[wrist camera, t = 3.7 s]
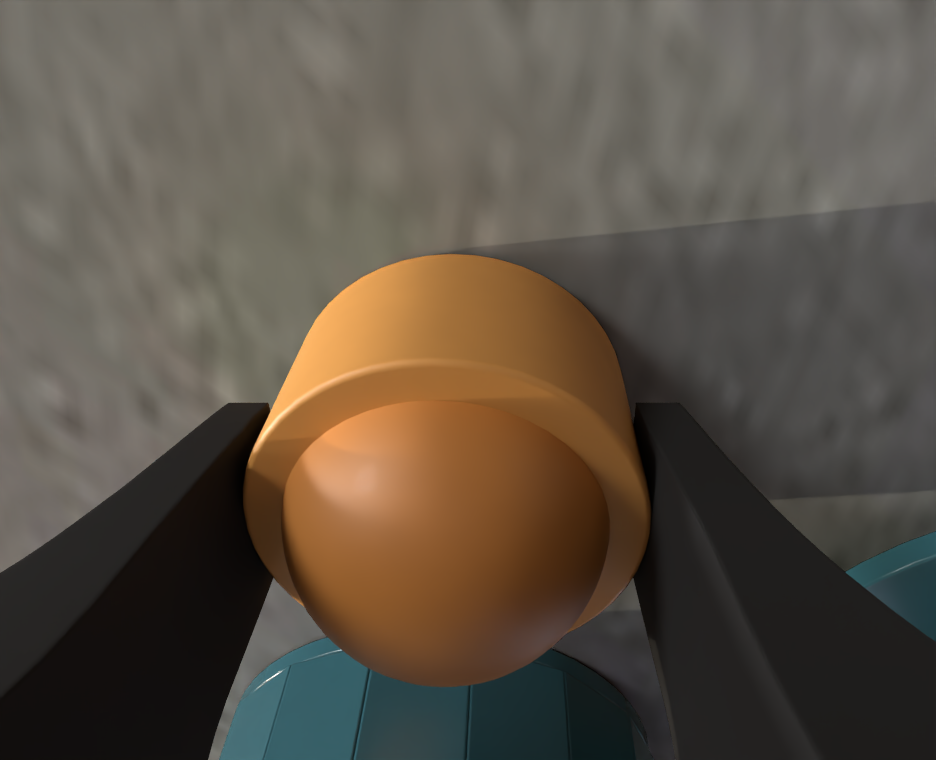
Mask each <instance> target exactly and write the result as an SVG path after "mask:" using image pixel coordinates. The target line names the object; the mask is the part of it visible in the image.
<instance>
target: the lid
mask: <svg viewBox="0 0 936 760" xmlns="http://www.w3.org/2000/svg"><path fill="white" fill-rule="evenodd" d="M846 573H847V574H848V575H849V576H851V577H852V578H853V579H854V580H856V581H857V582H858V583H859V584H861V585H862V586H863V587H864V588H866V589H867V590H868V591H869V592H871V593H872V594H873V595H874V596H876V597H877V598H878V599H879V600H881V601H882V602H883V603H884V604H886V605H887V606H888V607H889V608H891V609H892V610H893V611H894V612H896V613H897V614H898V615H900V616H901V617H902V618H904V619H905V620H907V621H908V622H909V623H911V624H912V625H913V626H915V627H916V628H917V629H919V630H920V631H921V632H923V633H924V634H925V635H927V636H928V637H930V638H931V639H933V640H934V641H936V531H935V532H932V533H929V534H926V535H924V536H921V537H918V538H916V539H913V540H910V541H907V542H905V543H902V544H900V545H898V546H896V547H893V548H891V549H889V550H887V551H885V552H883V553H881V554H878V555H876V556H874V557H872V558H870V559H868V560H865V561H863V562H861V563H860V564H858V565H856V566H854V567H853V568H851V569H849V570H847V571H846Z"/></svg>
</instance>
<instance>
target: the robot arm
mask: <svg viewBox="0 0 936 760" xmlns="http://www.w3.org/2000/svg"><path fill="white" fill-rule="evenodd" d="M269 414H270V408H269V404H268V403H228V404H226V405H225V406H224V407H222V408H221V409H220V410H218V411H217V412H216V413H214V414H213V415H212V416H210V417H209V418H208V419H207V420H205V421H204V422H203V423H202V424H200V425H199V426H198V427H197V428H195V429H194V430H193V431H192V432H191V433H189V434H188V435H187V436H186V437H184V438H183V439H182V440H181V441H180V442H178V443H177V444H176V445H175V446H173V447H172V448H171V449H170V450H169V451H167V452H166V453H165V454H164V455H162V456H161V457H160V458H159V459H157V460H156V461H155V462H154V463H152V464H151V465H150V466H149V467H147V468H146V469H145V470H144V471H142V472H141V473H140V474H139V475H137V476H136V477H135V478H134V479H132V480H131V481H130V482H129V483H127V484H126V485H125V486H124V487H122V488H121V489H120V490H118V491H117V492H116V493H114V494H113V495H112V496H110V497H109V498H108V499H106V500H105V501H103V502H102V503H101V504H99V505H98V506H97V507H95V508H94V509H93V510H91V511H90V512H89V513H87V514H86V515H85V516H83V517H82V518H80V519H79V520H78V521H76V522H75V523H74V524H72V525H71V526H70V527H68V528H67V529H66V530H64V531H63V532H61V533H60V534H59V535H57V536H56V537H54V538H53V539H51V540H50V541H49V542H47V543H46V544H44V545H43V546H41V547H40V548H38V549H37V550H35V551H34V552H32V553H31V554H29V555H28V556H26V557H25V558H23V559H22V560H20V561H19V562H17V563H15V564H14V565H12V566H11V567H9V568H7V569H6V570H4V571H3V572H1V573H0V760H208V758H209V754H210V750H211V747H212V743H213V739H214V736H215V732H216V729H217V726H218V723H219V720H220V718H221V715H222V712H223V709H224V706H225V703H226V700H227V697H228V695H229V692H230V689H231V687H232V684H233V682H234V679H235V677H236V674H237V671H238V669H239V666H240V664H241V661H242V658H243V656H244V653H245V651H246V648H247V645H248V643H249V640H250V638H251V635H252V632H253V630H254V627H255V625H256V622H257V619H258V617H259V614H260V612H261V609H262V606H263V604H264V601H265V598H266V596H267V593H268V590H269V588H270V585H271V582H272V580H273V576H272V575H271V573H270V572H269V571H268V569H267V568H266V567H265V566H264V564H263V562H262V560H261V559H260V557H259V555H258V553H257V552H256V550H255V548H254V545H253V543H252V540H251V538H250V535H249V532H248V530H247V525H246V520H245V515H244V510H243V483H244V476H245V470H246V466H247V463H248V461H249V458H250V455H251V452H252V450H253V447H254V445H255V443H256V441H257V439H258V437H259V435H260V433H261V431H262V428H263V426H264V424H265V422H266V420H267V418H268V416H269ZM634 429H635V433H636V437H637V441H638V446H639V450H640V454H641V458H642V463H643V467H644V471H645V475H646V480H647V484H648V488H649V494H650V501H651V509H652V513H651V524H650V534H649V539H648V543H647V548H646V551H645V554H644V556H643V558H642V561H641V563H640V565H639V568H638V570H637V572H636V573H635V575H634V576H633V578H634V582H635V586H636V591H637V595H638V599H639V603H640V607H641V611H642V615H643V619H644V623H645V627H646V631H647V636H648V640H649V644H650V648H651V652H652V656H653V660H654V664H655V668H656V672H657V676H658V680H659V684H660V688H661V692H662V696H663V700H664V704H665V708H666V712H667V717H668V722H669V727H670V732H671V737H672V741H673V746H674V753H675V760H936V641H934V640H933V639H931V638H930V637H928V636H927V635H925V634H924V633H923V632H921V631H920V630H919V629H917V628H916V627H915V626H913V625H912V624H911V623H909V622H908V621H907V620H905V619H904V618H902V617H901V616H900V615H898V614H897V613H896V612H894V611H893V610H892V609H891V608H889V607H888V606H887V605H886V604H884V603H883V602H882V601H881V600H879V599H878V598H877V597H876V596H874V595H873V594H872V593H871V592H869V591H868V590H867V589H866V588H864V587H863V586H862V585H861V584H859V583H858V582H857V581H856V580H854V579H853V578H852V577H851V576H849V575H848V574H847V573H846V572H844V571H843V570H842V569H841V568H840V567H839V566H837V565H836V564H835V563H834V562H833V561H832V560H830V559H829V558H828V557H827V556H826V555H825V554H823V553H822V552H821V551H820V550H819V549H818V548H817V547H816V546H815V545H814V544H813V543H811V542H810V541H809V540H808V539H807V538H806V537H805V536H804V535H803V534H802V533H801V532H799V531H798V530H797V529H796V528H795V527H794V526H793V525H792V524H791V523H790V522H789V521H788V520H787V519H786V518H785V517H784V516H783V515H782V514H781V513H780V512H779V511H778V510H777V509H776V508H775V507H774V506H773V505H772V504H771V503H770V502H769V501H768V500H767V499H766V498H765V497H764V496H763V495H762V494H761V493H760V492H759V491H758V490H757V489H756V488H755V487H754V486H753V485H752V483H751V482H750V481H749V480H748V479H747V478H746V477H745V476H744V475H743V474H742V473H741V472H740V471H739V470H738V469H737V468H736V466H735V465H734V464H733V463H732V462H731V461H730V460H729V459H728V458H727V456H726V455H725V454H724V453H723V452H722V451H721V450H720V449H719V447H718V446H717V445H716V444H715V443H714V442H713V441H712V439H711V438H710V437H709V436H708V435H707V434H706V433H705V431H704V430H703V429H702V428H701V427H700V426H699V424H698V423H697V422H696V421H695V420H694V419H693V418H692V416H691V415H690V414H689V413H688V412H687V411H686V410H685V409H684V408H683V406H682V405H681V404H680V403H636V408H635V417H634Z"/></svg>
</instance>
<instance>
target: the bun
mask: <svg viewBox="0 0 936 760" xmlns="http://www.w3.org/2000/svg"><path fill="white" fill-rule="evenodd" d="M243 510H244V515H245V520H246V525H247V530H248V532H249V535H250V538H251V540H252V543H253V545H254V548H255V550H256V552H257V553H258V555H259V557H260V559H261V560H262V562H263V564H264V566H265V567H266V568H267V569H268V571H269V572H270V573H271V575H272V576H273V577H274V579H275V580H276V581H277V582H278V583H279V584H280V585H281V586H282V587H283V588H284V589H285V590H286V591H287V592H288V593H289V594H290V595H291V596H292V597H293V598H294V599H295V600H297V601H298V602H299V603H300V604H302V605H303V606H304V607H305V608H306V610H307V612H308V613H309V615H310V616H311V617H312V619H313V620H314V621H315V623H316V624H317V625H318V626H319V628H320V629H321V630H322V631H323V633H324V634H325V635H326V636H327V637H328V638H329V639H330V640H331V641H332V642H333V643H334V644H335V645H336V646H338V647H339V648H340V649H341V650H343V651H344V652H345V653H346V654H348V655H349V656H350V657H352V658H353V659H354V660H356V661H357V662H359V663H361V664H362V665H364V666H365V667H367V668H369V669H371V670H373V671H375V672H377V673H380V674H382V675H385V676H387V677H390V678H393V679H397V680H400V681H403V682H407V683H411V684H416V685H422V686H431V687H456V686H467V685H473V684H479V683H484V682H488V681H491V680H495V679H497V678H500V677H503V676H505V675H508V674H510V673H512V672H514V671H516V670H518V669H520V668H522V667H524V666H526V665H528V664H530V663H531V662H533V661H534V660H536V659H537V658H539V657H540V656H541V655H543V654H544V653H545V652H546V651H548V650H549V649H550V648H551V647H552V646H553V645H555V644H556V643H557V642H558V641H559V640H560V639H562V637H563V636H564V635H565V634H567V633H569V632H571V631H573V630H575V629H576V628H578V627H580V626H582V625H584V624H585V623H587V622H588V621H590V620H591V619H593V618H594V617H596V616H597V615H599V614H600V613H601V612H602V611H603V610H604V609H606V608H607V607H608V606H609V605H610V604H611V603H613V602H614V601H615V599H616V598H617V597H618V596H619V595H620V594H621V593H622V592H623V590H624V589H625V588H626V587H627V586H628V584H629V582H630V581H631V579H632V578H633V576H634V575H635V573H636V572H637V570H638V568H639V565H640V563H641V561H642V558H643V556H644V554H645V551H646V548H647V543H648V539H649V534H650V524H651V513H652V509H651V501H650V494H649V488H648V484H647V480H646V475H645V471H644V467H643V463H642V458H641V454H640V450H639V446H638V441H637V437H636V433H635V429H634V425H633V420H632V416H631V412H630V408H629V403H628V399H627V395H626V391H625V386H624V382H623V378H622V374H621V369H620V366H619V363H618V360H617V357H616V353H615V351H614V349H613V347H612V344H611V342H610V340H609V338H608V336H607V334H606V333H605V331H604V330H603V328H602V327H601V326H600V324H599V323H598V321H597V320H596V318H595V317H594V316H593V315H592V314H591V313H590V312H589V311H588V310H587V309H586V307H585V306H584V305H583V304H582V303H581V302H580V301H579V300H577V299H576V298H575V297H574V296H572V295H571V294H570V293H569V292H567V291H566V290H565V289H564V288H562V287H561V286H559V285H557V284H556V283H554V282H552V281H551V280H549V279H547V278H546V277H544V276H542V275H540V274H538V273H536V272H533V271H531V270H529V269H527V268H524V267H522V266H519V265H516V264H512V263H509V262H506V261H502V260H499V259H494V258H488V257H482V256H476V255H461V254H444V255H431V256H423V257H418V258H413V259H408V260H403V261H400V262H397V263H394V264H391V265H389V266H386V267H383V268H380V269H378V270H376V271H374V272H372V273H370V274H368V275H366V276H364V277H362V278H360V279H359V280H357V281H356V282H355V283H353V284H352V285H350V286H349V287H347V288H346V289H344V290H343V291H342V292H341V293H340V294H339V295H338V296H337V297H335V298H334V299H333V300H332V301H331V302H330V303H329V304H328V305H327V306H326V308H325V309H324V310H323V311H322V313H321V314H320V315H319V316H318V318H317V319H316V321H315V322H314V324H313V326H312V328H311V329H310V331H309V333H308V335H307V337H306V339H305V341H304V343H303V345H302V347H301V349H300V351H299V353H298V355H297V357H296V360H295V362H294V364H293V366H292V368H291V370H290V372H289V374H288V376H287V378H286V380H285V382H284V385H283V387H282V389H281V391H280V393H279V395H278V397H277V399H276V401H275V403H274V405H273V408H272V410H271V412H270V414H269V416H268V418H267V420H266V422H265V424H264V426H263V428H262V431H261V433H260V435H259V437H258V439H257V441H256V443H255V445H254V447H253V450H252V452H251V455H250V458H249V461H248V463H247V466H246V470H245V476H244V483H243Z"/></svg>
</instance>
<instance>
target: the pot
mask: <svg viewBox="0 0 936 760" xmlns="http://www.w3.org/2000/svg"><path fill="white" fill-rule="evenodd" d="M219 760H654V758H653V757H652V755H651V753H650V751H649V747H648V742H647V736H646V732H645V730H644V727H643V725H642V723H641V720H640V718H639V716H638V715H637V713H636V712H635V710H634V709H633V708H632V706H631V705H630V703H629V702H628V700H627V699H626V698H625V697H624V696H623V695H622V694H621V693H620V692H619V691H618V690H617V689H616V688H615V687H614V686H613V685H612V684H610V683H609V682H608V681H606V680H605V679H604V678H602V677H601V676H600V675H598V674H597V673H596V672H594V671H593V670H591V669H589V668H588V667H586V666H584V665H582V664H581V663H579V662H577V661H575V660H574V659H572V658H570V657H567V656H565V655H563V654H561V653H558V652H556V651H554V650H552V649H549V650H548V651H546V652H545V653H544V654H543V655H541V656H540V657H539V658H537V659H536V660H534V661H533V662H531V663H530V664H528V665H526V666H524V667H522V668H520V669H518V670H516V671H514V672H512V673H510V674H508V675H505V676H503V677H500V678H497V679H495V680H491V681H488V682H484V683H479V684H473V685H467V686H456V687H431V686H422V685H416V684H411V683H407V682H403V681H400V680H397V679H393V678H390V677H387V676H385V675H382V674H380V673H377V672H375V671H373V670H371V669H369V668H367V667H365V666H364V665H362V664H361V663H359V662H357V661H356V660H354V659H353V658H352V657H350V656H349V655H348V654H346V653H345V652H344V651H343V650H341V649H340V648H339V647H338V646H336V645H335V644H334V643H333V642H332V641H331V640H330V639H329V638H328V637H326V638H323V639H320V640H317V641H314V642H311V643H309V644H306V645H304V646H302V647H300V648H298V649H295V650H293V651H291V652H289V653H287V654H286V655H284V656H283V657H281V658H279V659H278V660H276V661H275V662H273V663H272V664H270V665H269V666H268V667H267V668H266V669H265V670H263V671H262V672H261V673H260V674H259V675H258V676H257V677H256V678H255V679H254V680H253V682H252V683H251V684H250V685H249V687H248V688H247V689H246V691H245V692H244V694H243V696H242V698H241V700H240V702H239V704H238V706H237V709H236V712H235V715H234V718H233V721H232V724H231V726H230V729H229V732H228V735H227V738H226V741H225V744H224V747H223V750H222V753H221V756H220V758H219Z"/></svg>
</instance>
